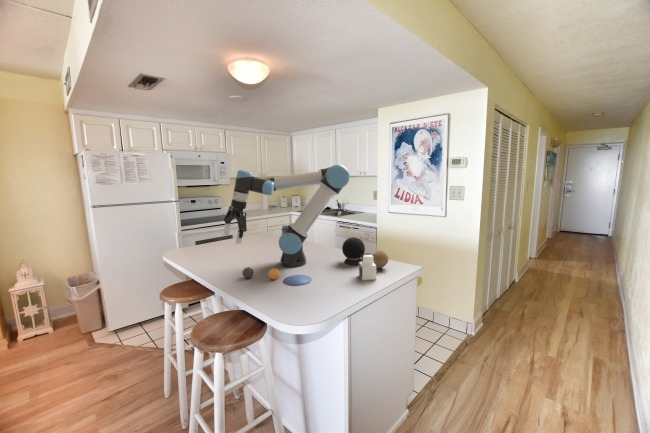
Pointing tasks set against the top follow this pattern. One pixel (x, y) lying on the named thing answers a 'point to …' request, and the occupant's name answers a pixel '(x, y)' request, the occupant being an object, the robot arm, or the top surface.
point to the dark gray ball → (248, 272)
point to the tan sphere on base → (380, 259)
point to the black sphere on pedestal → (353, 251)
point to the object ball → (274, 273)
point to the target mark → (297, 280)
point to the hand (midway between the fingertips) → (231, 239)
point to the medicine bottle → (367, 267)
